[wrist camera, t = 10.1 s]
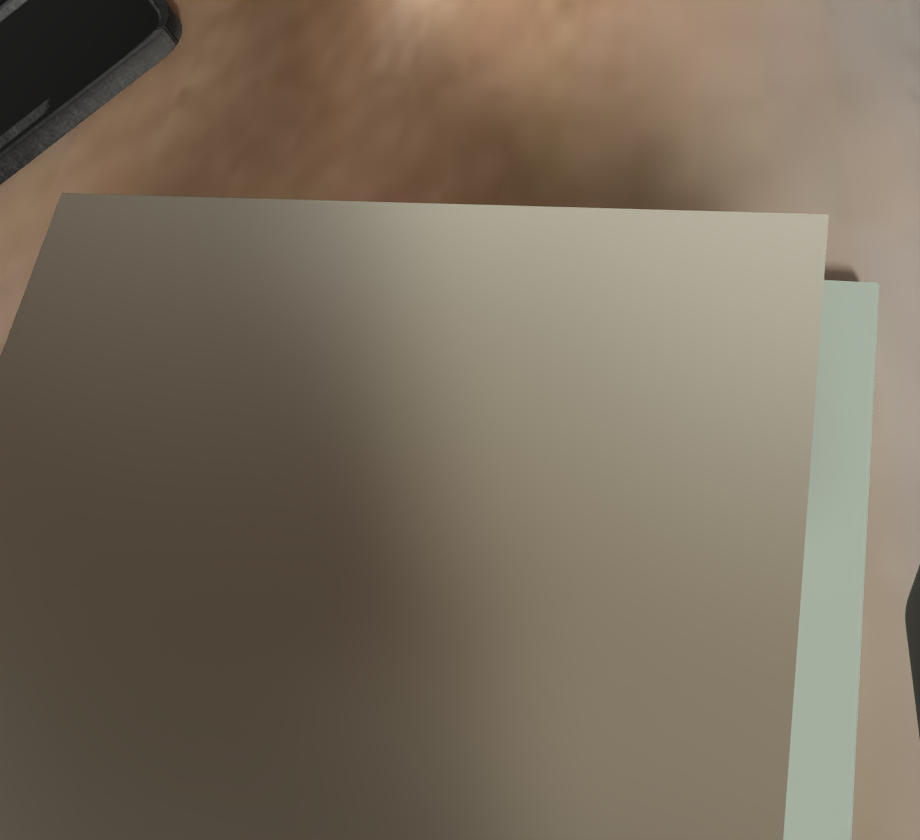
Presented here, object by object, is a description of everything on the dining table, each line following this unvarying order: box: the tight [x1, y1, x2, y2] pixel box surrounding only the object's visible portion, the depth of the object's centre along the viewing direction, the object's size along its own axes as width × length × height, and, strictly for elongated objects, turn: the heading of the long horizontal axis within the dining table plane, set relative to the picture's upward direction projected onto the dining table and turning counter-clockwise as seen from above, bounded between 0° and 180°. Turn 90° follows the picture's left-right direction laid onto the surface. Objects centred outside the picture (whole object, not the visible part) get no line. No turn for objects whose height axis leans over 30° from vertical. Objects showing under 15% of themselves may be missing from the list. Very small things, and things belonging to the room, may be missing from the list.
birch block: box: [0, 193, 829, 840], centre depth 10 cm, size 5×5×13 cm
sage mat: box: [783, 280, 879, 840], centre depth 16 cm, size 18×12×1 cm, turn 169°
